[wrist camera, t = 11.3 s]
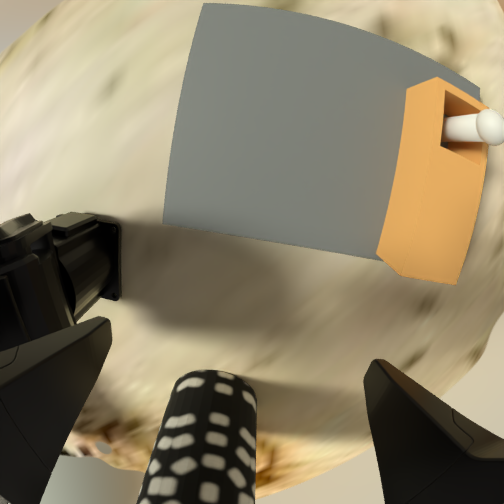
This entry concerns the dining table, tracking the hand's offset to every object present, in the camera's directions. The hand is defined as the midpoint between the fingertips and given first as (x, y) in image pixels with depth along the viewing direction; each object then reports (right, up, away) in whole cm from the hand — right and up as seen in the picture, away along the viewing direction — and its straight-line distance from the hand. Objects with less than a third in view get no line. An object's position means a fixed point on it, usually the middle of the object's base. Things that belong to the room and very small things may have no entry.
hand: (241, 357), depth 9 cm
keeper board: (+7, +11, +9) cm, 16 cm away
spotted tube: (-3, -11, +16) cm, 20 cm away
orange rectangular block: (+12, +8, +8) cm, 17 cm away
